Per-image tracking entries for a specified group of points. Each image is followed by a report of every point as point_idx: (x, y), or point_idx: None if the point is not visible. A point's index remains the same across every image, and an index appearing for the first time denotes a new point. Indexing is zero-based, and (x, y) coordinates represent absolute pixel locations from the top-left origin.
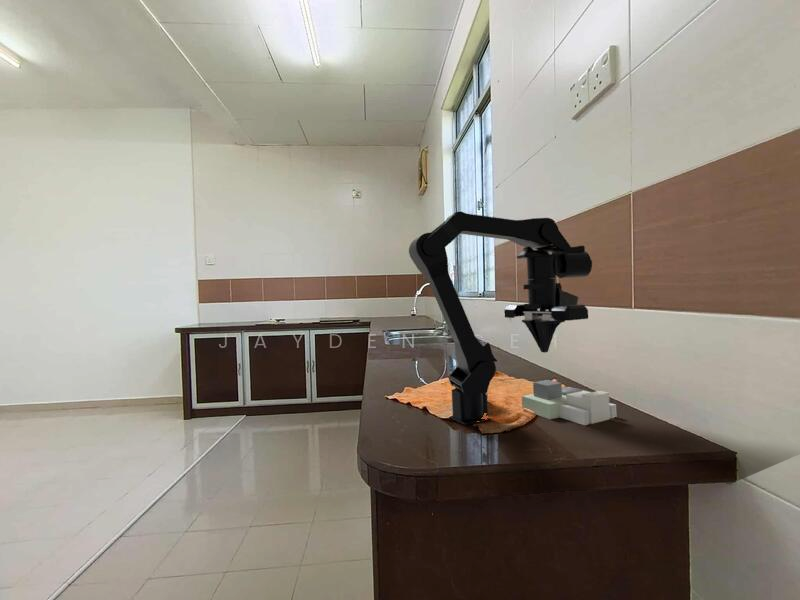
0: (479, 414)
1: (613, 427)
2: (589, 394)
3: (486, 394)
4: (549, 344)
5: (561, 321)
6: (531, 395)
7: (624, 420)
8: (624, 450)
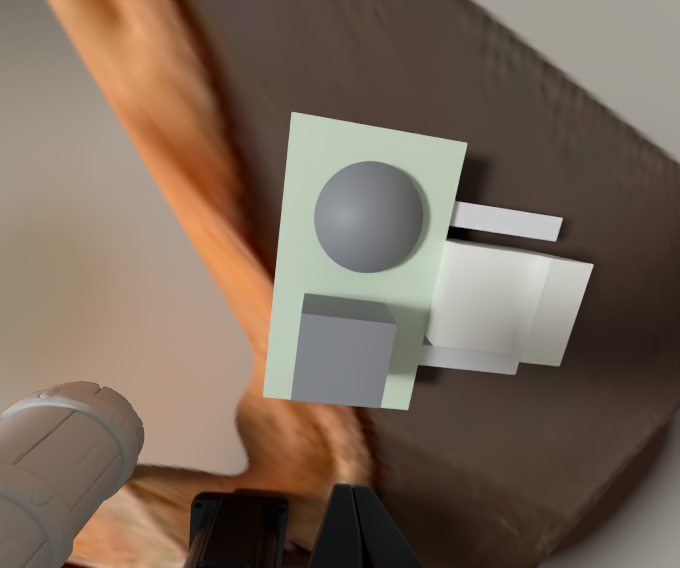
0: (277, 550)
1: None
2: (542, 341)
3: (114, 428)
4: (412, 561)
5: None
6: (282, 365)
7: None
8: (625, 427)
